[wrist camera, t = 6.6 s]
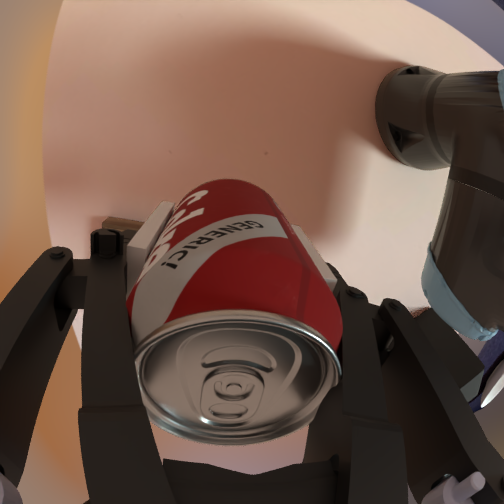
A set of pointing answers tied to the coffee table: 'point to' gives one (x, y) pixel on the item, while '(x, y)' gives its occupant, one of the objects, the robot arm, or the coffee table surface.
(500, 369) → the bowl
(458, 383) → the speaker
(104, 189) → the coffee table surface
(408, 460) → the robot arm
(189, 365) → the soda can
